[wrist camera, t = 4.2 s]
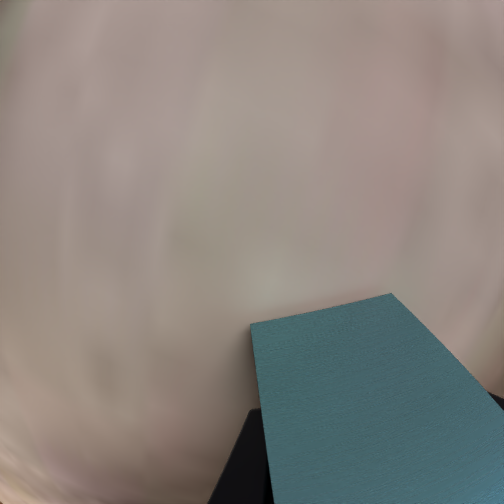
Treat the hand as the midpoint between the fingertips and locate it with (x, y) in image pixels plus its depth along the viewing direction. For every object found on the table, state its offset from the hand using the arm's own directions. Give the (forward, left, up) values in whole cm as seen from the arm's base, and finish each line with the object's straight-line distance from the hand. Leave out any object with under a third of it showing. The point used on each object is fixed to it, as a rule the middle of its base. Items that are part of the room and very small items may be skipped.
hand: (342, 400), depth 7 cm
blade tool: (0, +8, -2) cm, 8 cm away
